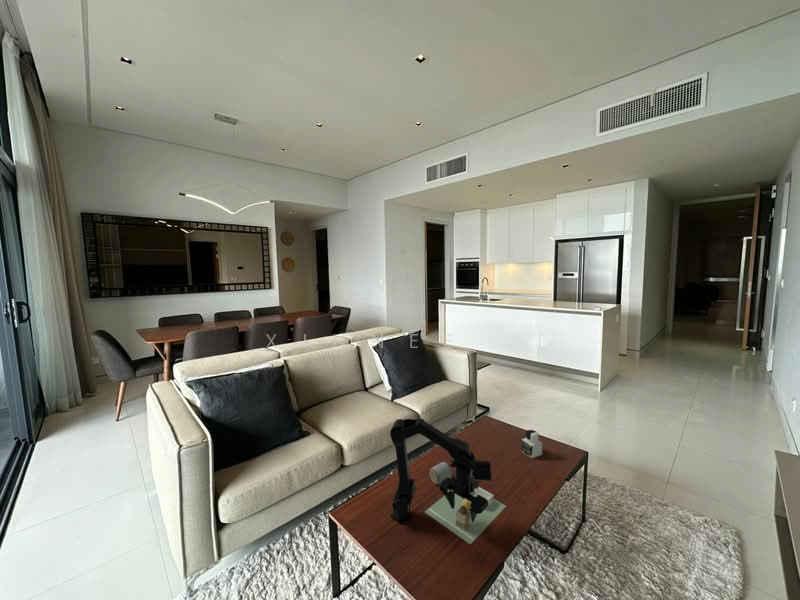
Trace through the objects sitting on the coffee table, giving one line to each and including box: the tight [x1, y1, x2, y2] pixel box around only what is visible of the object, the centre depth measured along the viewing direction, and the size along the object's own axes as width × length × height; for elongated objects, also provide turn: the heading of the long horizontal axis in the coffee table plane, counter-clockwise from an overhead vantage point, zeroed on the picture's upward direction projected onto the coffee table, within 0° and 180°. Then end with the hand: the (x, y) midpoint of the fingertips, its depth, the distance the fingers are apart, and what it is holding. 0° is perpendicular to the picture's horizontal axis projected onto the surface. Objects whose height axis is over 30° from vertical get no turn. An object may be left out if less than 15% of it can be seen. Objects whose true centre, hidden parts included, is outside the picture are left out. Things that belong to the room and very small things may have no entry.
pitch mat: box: [424, 492, 507, 545], centre depth 134 cm, size 26×22×1 cm
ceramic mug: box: [428, 461, 453, 485], centre depth 150 cm, size 11×8×8 cm
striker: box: [456, 506, 471, 531], centre depth 126 cm, size 4×4×8 cm
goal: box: [474, 486, 495, 510], centre depth 140 cm, size 6×12×3 cm, turn 44°
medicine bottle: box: [521, 429, 543, 459], centre depth 171 cm, size 7×7×12 cm
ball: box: [462, 499, 471, 509], centre depth 134 cm, size 4×4×4 cm
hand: (462, 514), depth 126 cm, fingers open, 9 cm apart
